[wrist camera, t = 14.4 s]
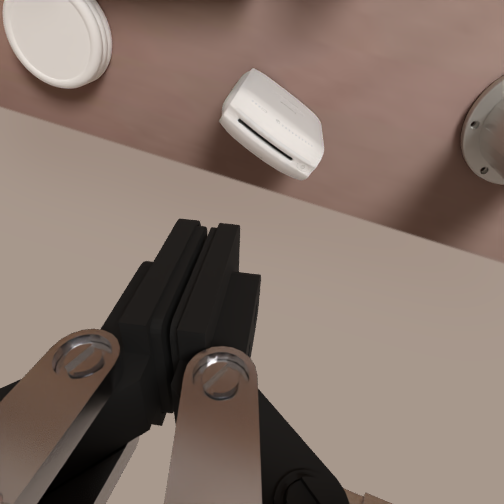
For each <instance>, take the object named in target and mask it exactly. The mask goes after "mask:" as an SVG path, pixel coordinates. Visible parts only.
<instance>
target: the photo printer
mask: <svg viewBox="0 0 504 504" xmlns="http://www.w3.org/2000/svg"><path fill="white" fill-rule="evenodd" d="M219 122H220V123H221V125H222V126H223V127H224V128H225V130H226V131H227V132H228V133H229V134H230V135H231V136H232V137H233V138H234V139H235V140H237V141H238V142H239V143H240V144H241V145H243V146H244V147H245V148H246V149H248V150H249V151H250V152H252V153H253V154H254V155H256V156H257V157H258V158H260V159H261V160H262V161H264V162H265V163H267V164H268V165H270V166H271V167H273V168H275V169H276V170H278V171H280V172H281V173H283V174H286V175H287V176H290V177H292V178H295V179H298V180H305V179H306V178H308V176H309V175H310V173H311V172H312V171H314V170H315V168H316V167H317V165H318V164H319V162H320V160H321V158H322V156H323V153H324V142H323V134H322V126H321V122H320V120H319V119H318V118H317V116H316V115H315V114H314V113H313V112H312V111H311V110H310V109H308V108H307V107H306V106H305V105H304V104H303V103H301V102H300V101H299V100H298V99H296V98H295V97H294V96H293V95H291V94H290V93H289V92H288V91H286V90H285V89H284V88H282V87H281V86H280V85H278V84H277V83H276V82H274V81H273V80H272V79H270V78H269V77H268V76H266V75H265V74H263V73H262V72H260V71H258V70H256V69H254V68H252V69H251V71H249V72H246V73H245V74H243V75H242V76H241V78H240V79H239V80H238V82H237V83H236V85H235V86H234V88H233V89H232V91H231V92H230V93H229V95H228V96H227V98H226V99H225V101H224V103H223V106H222V116H221V118H220V120H219Z"/></svg>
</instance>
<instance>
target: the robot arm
mask: <svg viewBox="0 0 504 504" xmlns="http://www.w3.org/2000/svg"><path fill="white" fill-rule="evenodd" d="M472 122H474V124H472V125H471V123H472ZM461 150H462V155H463V157H464V159H465V161H466V163H467V165H468V166H469V167H470V168H471V170H472V171H473V172H474V173H475V174H476V175H477V176H479V177H480V178H482V179H484V180H486V181H488V182H491V183H495V184H498V185H504V75H503V76H502V77H500V78H499V79H497V80H496V81H495V82H494V83H492V84H491V85H490V86H489V87H488V88H487V89H486V90H485V91H484V92H483V93H482V94H481V95H480V96H479V98H478V99H477V100H476V101H475V102H474V104H473V106H472V107H471V109H470V111H469V112H468V114H467V116H466V119H465V121H464V124H463V127H462V132H461ZM481 168H483V169H481ZM239 247H240V226H239V225H233V224H223V223H220V224H219V225H218V228H213V227H212V228H211V229H210V232H209V234H208V236H207V228H206V227H204V226H201V224H200V221H197V220H187V219H179V220H178V221H177V222H176V224H175V226H174V227H173V229H172V231H171V233H170V234H169V236H168V238H167V239H166V241H165V243H164V245H163V246H162V248H161V250H160V251H159V253H158V255H157V257H156V258H155V260H154V262H149V261H145V262H143V263H142V264H141V266H140V267H139V268H138V270H137V272H136V273H135V275H134V277H133V278H132V280H131V281H130V283H129V285H128V286H127V288H126V289H125V291H124V293H123V294H122V296H121V297H120V299H119V301H118V302H117V304H116V305H115V307H114V309H113V310H112V312H111V313H110V315H109V317H108V318H107V320H106V321H105V323H104V325H103V326H102V328H101V329H100V330H99V329H86V330H81V331H78V332H74V333H71V334H70V335H68V336H66V337H64V338H62V339H61V340H59V341H58V342H57V343H56V344H55V345H53V346H52V347H51V348H50V349H49V351H48V352H47V353H46V354H45V355H44V356H43V357H42V358H41V359H40V360H39V361H38V362H37V363H36V364H35V365H34V367H33V368H32V369H31V370H30V371H29V372H28V373H27V374H26V375H25V377H23V378H22V379H21V380H18V381H16V382H14V383H12V384H9V385H7V386H5V387H3V388H0V504H106V502H107V500H108V498H109V496H110V495H111V493H112V491H113V489H114V487H115V485H116V484H117V482H118V480H119V478H120V476H121V474H122V473H123V471H124V469H125V467H126V465H127V463H128V461H129V460H130V458H131V456H132V454H133V452H134V450H135V449H136V446H137V443H138V441H139V436H140V435H142V434H143V433H145V432H146V431H148V430H150V427H151V424H154V425H160V426H162V424H163V421H164V418H165V415H166V413H173V412H174V415H175V423H176V429H175V436H174V442H173V449H172V455H171V462H170V469H169V475H168V481H167V488H166V494H165V501H164V504H392V503H389V502H387V501H385V500H382V499H380V498H377V497H375V496H372V495H370V494H368V493H365V494H364V496H360V495H358V494H356V493H353V492H351V491H349V490H346V489H344V488H343V487H342V486H341V485H340V483H339V481H338V480H337V479H336V477H335V476H334V475H333V474H332V473H331V472H330V471H329V469H328V468H327V467H326V466H325V465H324V464H323V463H322V461H321V460H320V459H319V458H318V457H317V456H316V455H315V453H314V452H313V451H312V450H311V449H310V448H309V447H308V446H307V444H306V443H305V442H304V441H303V440H302V438H301V437H300V436H299V435H298V434H297V433H296V432H295V431H294V429H293V428H292V427H291V426H290V425H289V424H288V422H287V421H286V420H285V419H284V418H283V417H282V415H281V414H280V413H279V412H278V411H277V410H276V409H275V408H274V406H273V405H272V404H271V403H270V402H269V401H268V399H267V398H266V397H265V396H264V395H263V394H262V393H261V391H260V390H259V389H258V378H257V371H256V367H255V365H254V363H253V362H252V360H251V359H250V357H251V351H252V346H253V340H254V333H255V328H256V321H257V314H258V306H259V295H260V282H261V275H258V274H249V273H241V272H239Z"/></svg>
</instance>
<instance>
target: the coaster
mask: <svg viewBox="0 0 504 504" xmlns="http://www.w3.org/2000/svg"><path fill="white" fill-rule="evenodd" d="M3 23H4V28H5V32H6V35H7V39H8V41H9V43H10V46H11V48H12V49H13V51H14V53H15V55H16V56H17V58H18V59H19V60H20V62H21V63H22V64H23V65H24V66H25V68H26V69H27V70H28V71H30V72H31V73H32V74H33V75H34V76H36V77H37V78H38V79H40V80H41V81H43V82H45V83H47V84H49V85H52V86H55V87H59V88H65V89H72V88H78V87H81V86H83V85H86V84H88V83H90V82H93V81H95V80H97V79H98V78H99V77H100V76H101V75H102V74H103V73H104V72H105V70H106V69H107V67H108V65H109V62H110V59H111V55H112V36H111V30H110V27H109V23H108V21H107V18H106V16H105V14H104V12H103V10H102V8H101V7H100V5H99V4H98V2H97V1H96V0H4V4H3Z"/></svg>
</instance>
